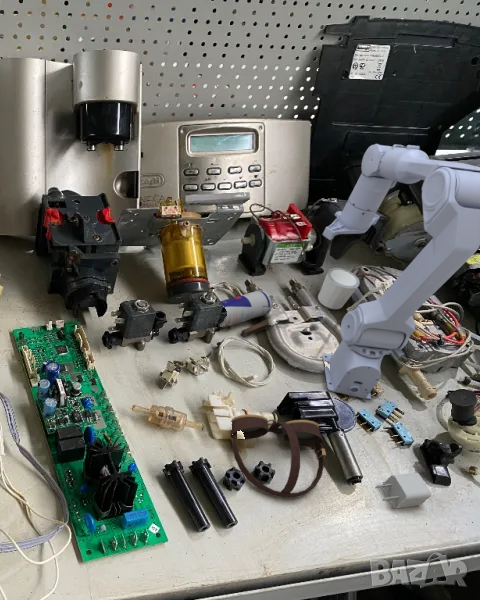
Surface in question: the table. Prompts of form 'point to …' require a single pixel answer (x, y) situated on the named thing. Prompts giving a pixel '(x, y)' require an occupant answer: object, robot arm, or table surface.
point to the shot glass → (337, 288)
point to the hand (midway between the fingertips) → (334, 256)
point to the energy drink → (246, 307)
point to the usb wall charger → (405, 490)
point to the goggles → (292, 433)
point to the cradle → (255, 328)
